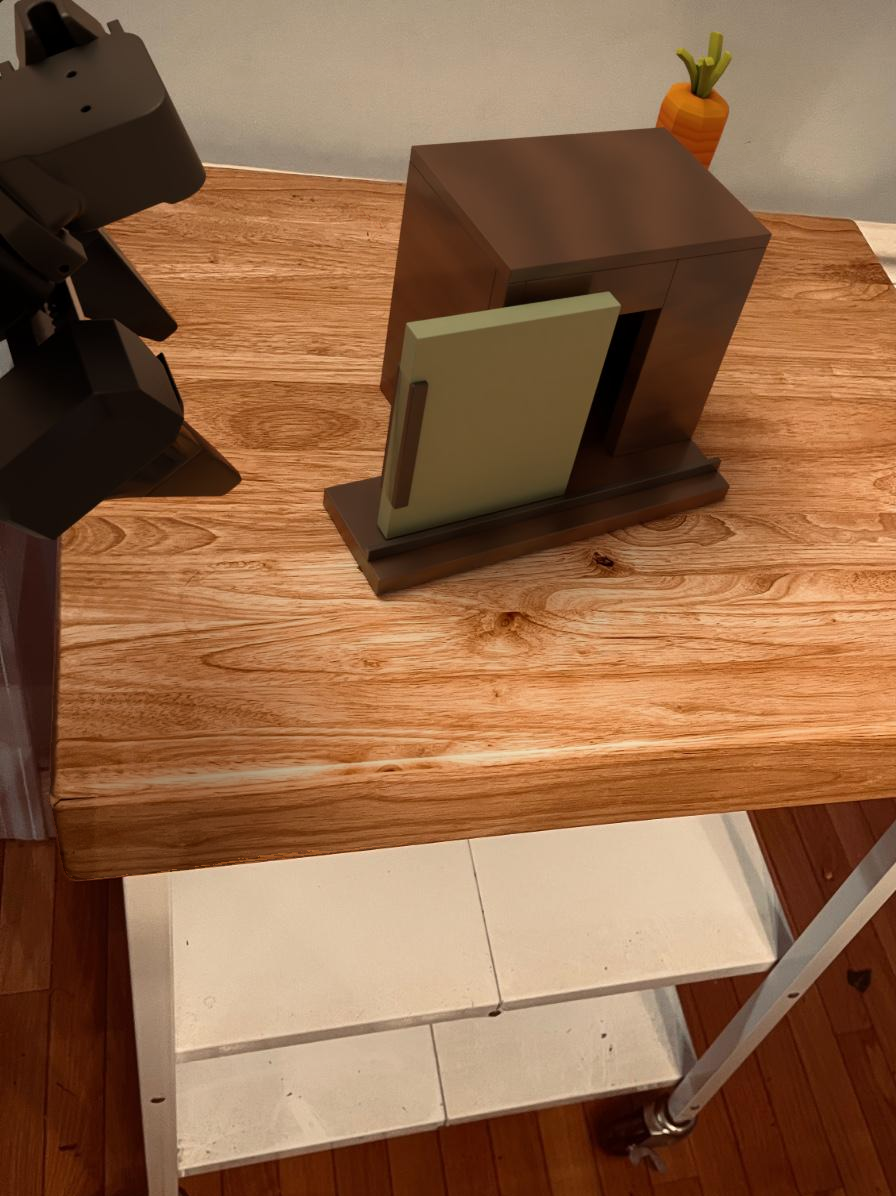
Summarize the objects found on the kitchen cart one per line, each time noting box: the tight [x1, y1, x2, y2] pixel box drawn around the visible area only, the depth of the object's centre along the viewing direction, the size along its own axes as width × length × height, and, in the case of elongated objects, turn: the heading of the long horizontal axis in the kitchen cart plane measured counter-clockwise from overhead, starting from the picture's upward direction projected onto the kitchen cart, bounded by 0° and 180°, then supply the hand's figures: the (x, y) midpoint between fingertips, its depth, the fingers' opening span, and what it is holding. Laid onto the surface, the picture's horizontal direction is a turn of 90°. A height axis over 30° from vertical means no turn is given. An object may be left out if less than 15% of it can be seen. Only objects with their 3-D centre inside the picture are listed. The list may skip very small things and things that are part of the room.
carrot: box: [654, 30, 733, 171], centre depth 85 cm, size 5×5×15 cm
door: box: [377, 292, 621, 539], centre depth 60 cm, size 11×2×13 cm, turn 123°
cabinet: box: [322, 127, 773, 597], centre depth 64 cm, size 23×15×16 cm, turn 123°
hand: (199, 405), depth 47 cm, fingers open, 9 cm apart
